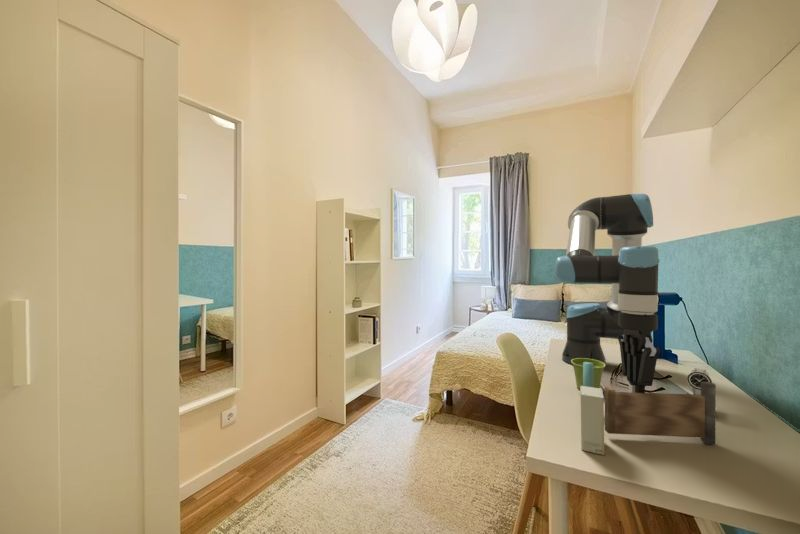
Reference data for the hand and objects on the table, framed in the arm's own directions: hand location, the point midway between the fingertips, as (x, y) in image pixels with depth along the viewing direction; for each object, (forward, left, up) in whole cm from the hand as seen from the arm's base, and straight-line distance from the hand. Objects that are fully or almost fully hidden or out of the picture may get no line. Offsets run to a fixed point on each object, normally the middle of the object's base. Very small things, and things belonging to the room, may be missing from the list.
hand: (636, 410), depth 76 cm
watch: (-25, +11, -5) cm, 28 cm away
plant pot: (-21, -15, -5) cm, 26 cm away
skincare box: (+13, -7, -5) cm, 16 cm away
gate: (+1, +4, -5) cm, 7 cm away
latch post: (-5, -11, -5) cm, 13 cm away
